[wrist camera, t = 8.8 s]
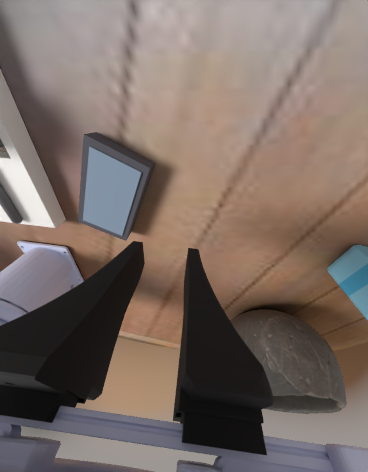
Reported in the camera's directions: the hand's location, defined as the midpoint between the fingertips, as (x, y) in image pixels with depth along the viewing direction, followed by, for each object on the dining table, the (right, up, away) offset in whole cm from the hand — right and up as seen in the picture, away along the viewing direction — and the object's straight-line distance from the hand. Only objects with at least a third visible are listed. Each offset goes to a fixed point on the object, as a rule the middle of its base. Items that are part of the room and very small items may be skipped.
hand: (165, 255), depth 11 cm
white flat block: (-18, +11, +5) cm, 22 cm away
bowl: (+17, -15, +22) cm, 31 cm away
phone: (-7, +7, +8) cm, 12 cm away
